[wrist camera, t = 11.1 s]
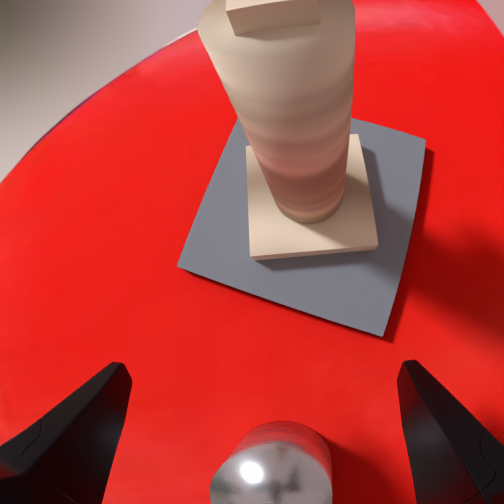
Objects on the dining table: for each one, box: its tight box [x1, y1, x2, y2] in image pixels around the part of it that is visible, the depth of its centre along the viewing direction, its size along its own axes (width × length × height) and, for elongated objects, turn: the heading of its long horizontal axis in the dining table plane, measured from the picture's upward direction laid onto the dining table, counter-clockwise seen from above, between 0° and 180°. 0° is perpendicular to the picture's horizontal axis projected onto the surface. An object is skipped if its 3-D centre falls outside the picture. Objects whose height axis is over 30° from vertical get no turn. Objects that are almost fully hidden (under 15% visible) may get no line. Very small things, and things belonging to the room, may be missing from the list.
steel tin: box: [210, 421, 332, 504], centre depth 14 cm, size 6×6×5 cm
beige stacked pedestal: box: [197, 0, 378, 261], centre depth 12 cm, size 8×7×14 cm
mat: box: [177, 118, 426, 337], centre depth 19 cm, size 13×13×1 cm
